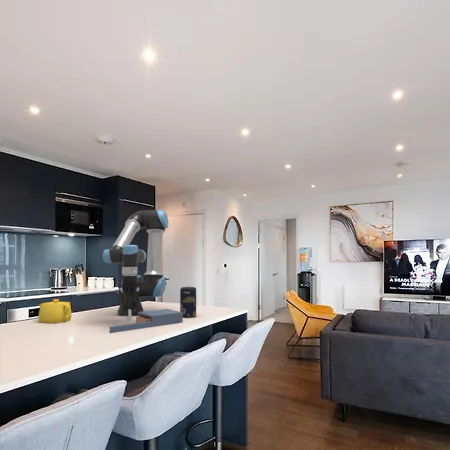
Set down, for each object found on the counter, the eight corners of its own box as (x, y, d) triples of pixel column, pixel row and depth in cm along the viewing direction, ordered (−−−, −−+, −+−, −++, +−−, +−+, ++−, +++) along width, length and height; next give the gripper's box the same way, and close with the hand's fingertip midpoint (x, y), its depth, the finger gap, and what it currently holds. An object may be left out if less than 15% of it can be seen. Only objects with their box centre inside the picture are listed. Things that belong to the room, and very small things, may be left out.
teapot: (30, 322, 187) (31, 299, 188) (48, 318, 199) (49, 297, 200) (59, 324, 181) (59, 301, 182) (76, 320, 192) (77, 298, 193)
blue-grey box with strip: (97, 327, 173) (98, 316, 173) (166, 318, 198) (167, 308, 198) (110, 332, 160) (111, 321, 161) (182, 322, 186) (182, 312, 186)
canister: (197, 315, 208) (197, 285, 210) (194, 318, 199) (194, 286, 200) (181, 315, 209) (182, 284, 211) (178, 317, 200) (178, 286, 201)
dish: (136, 323, 183) (136, 316, 183) (162, 319, 193) (162, 313, 194) (146, 326, 175) (146, 319, 175) (173, 322, 185) (173, 315, 185)
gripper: (120, 276, 170) (119, 325, 167) (144, 275, 178) (143, 322, 176) (114, 275, 175) (112, 323, 173) (138, 274, 184) (137, 320, 182)
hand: (128, 322), depth 174 cm, fingers closed
